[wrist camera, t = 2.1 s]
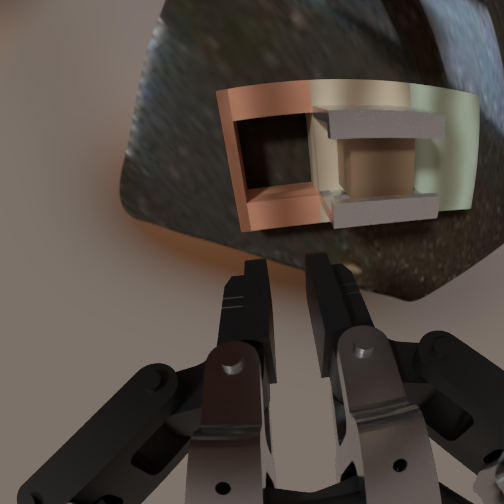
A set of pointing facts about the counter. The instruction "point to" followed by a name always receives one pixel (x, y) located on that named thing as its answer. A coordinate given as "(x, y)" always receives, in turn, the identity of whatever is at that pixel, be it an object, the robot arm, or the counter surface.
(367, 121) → the tunnel
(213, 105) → the counter surface
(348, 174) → the walnut block
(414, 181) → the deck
